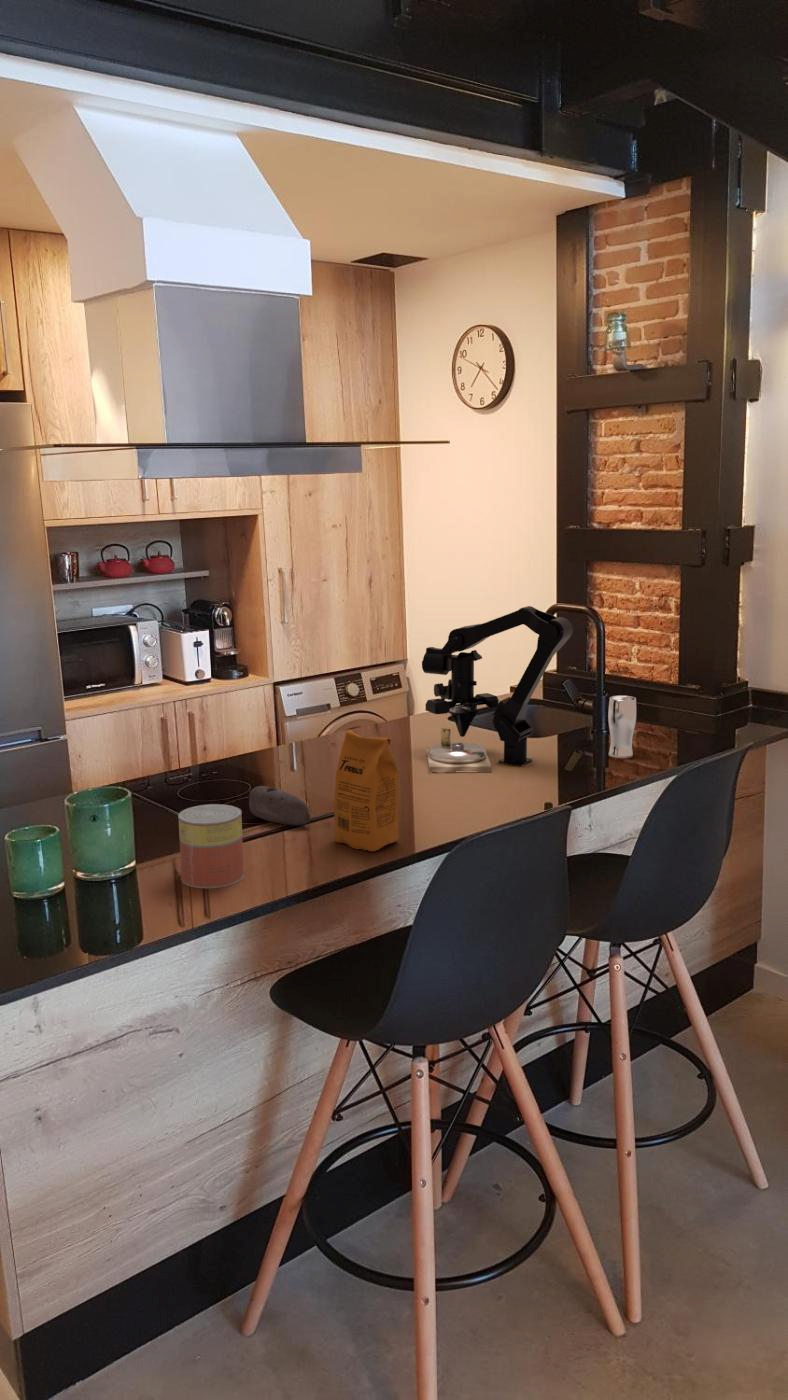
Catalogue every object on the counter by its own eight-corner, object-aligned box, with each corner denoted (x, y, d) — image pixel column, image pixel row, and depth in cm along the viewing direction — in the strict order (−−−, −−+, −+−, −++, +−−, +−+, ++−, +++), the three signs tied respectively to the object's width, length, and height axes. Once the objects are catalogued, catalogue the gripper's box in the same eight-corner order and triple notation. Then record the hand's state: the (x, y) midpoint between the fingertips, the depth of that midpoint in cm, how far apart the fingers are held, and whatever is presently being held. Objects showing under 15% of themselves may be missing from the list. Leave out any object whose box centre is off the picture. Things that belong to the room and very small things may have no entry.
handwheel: (497, 758, 268) (497, 735, 266) (449, 766, 261) (450, 742, 259) (465, 746, 279) (465, 724, 278) (419, 753, 272) (419, 731, 271)
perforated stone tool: (317, 826, 223) (316, 793, 222) (300, 832, 219) (299, 799, 218) (264, 813, 232) (263, 782, 230) (247, 819, 228) (245, 787, 226)
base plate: (484, 753, 279) (484, 747, 279) (491, 772, 262) (491, 766, 261) (426, 754, 279) (426, 748, 279) (429, 773, 262) (429, 767, 261)
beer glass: (605, 757, 274) (607, 700, 271) (608, 751, 280) (610, 694, 277) (633, 759, 272) (635, 701, 269) (635, 752, 278) (638, 696, 275)
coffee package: (361, 829, 221) (360, 724, 216) (406, 842, 212) (405, 734, 208) (326, 841, 214) (323, 733, 209) (370, 855, 205) (369, 743, 201)
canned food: (247, 865, 201) (244, 803, 199) (240, 887, 190) (238, 822, 187) (186, 866, 201) (183, 804, 198) (176, 889, 190) (172, 824, 187)
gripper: (477, 668, 284) (477, 726, 288) (415, 674, 276) (415, 734, 279) (500, 675, 275) (499, 734, 278) (436, 681, 267) (436, 743, 270)
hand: (462, 736), depth 277 cm, fingers closed
